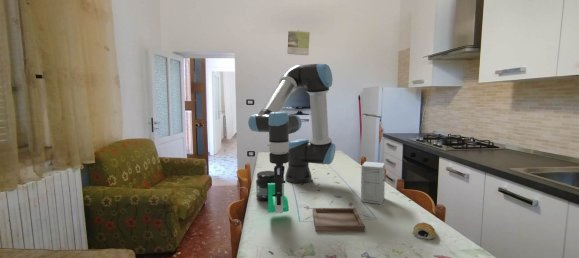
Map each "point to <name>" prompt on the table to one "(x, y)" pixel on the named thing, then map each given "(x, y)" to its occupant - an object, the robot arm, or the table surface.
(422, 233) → the pastry
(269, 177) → the supplement container
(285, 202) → the camera mount
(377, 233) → the table surface
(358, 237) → the table surface
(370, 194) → the supplement box
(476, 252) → the table surface
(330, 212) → the tray
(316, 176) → the table surface
